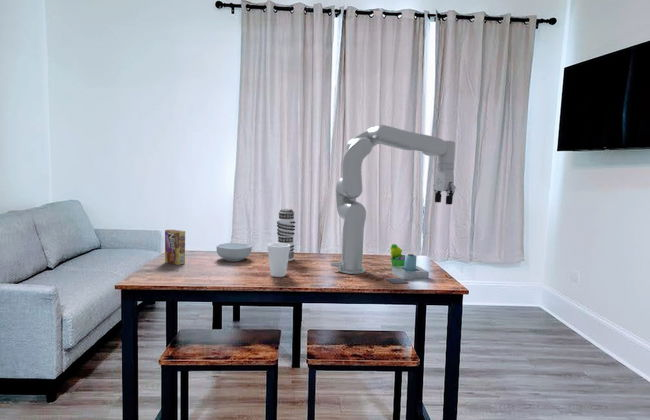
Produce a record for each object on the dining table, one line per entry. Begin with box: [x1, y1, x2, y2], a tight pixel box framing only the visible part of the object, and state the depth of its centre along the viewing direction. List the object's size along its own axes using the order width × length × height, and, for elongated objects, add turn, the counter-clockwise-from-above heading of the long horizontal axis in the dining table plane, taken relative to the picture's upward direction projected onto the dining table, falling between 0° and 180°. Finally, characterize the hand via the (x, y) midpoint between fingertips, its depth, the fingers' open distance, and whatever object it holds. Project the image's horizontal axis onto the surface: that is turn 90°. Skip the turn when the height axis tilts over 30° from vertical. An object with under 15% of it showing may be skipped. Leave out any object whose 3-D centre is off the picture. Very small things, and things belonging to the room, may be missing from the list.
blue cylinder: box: [404, 253, 418, 271], centre depth 193 cm, size 5×5×10 cm
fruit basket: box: [390, 243, 406, 267], centre depth 207 cm, size 11×9×11 cm
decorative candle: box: [276, 208, 296, 262], centre depth 216 cm, size 9×9×25 cm
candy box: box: [164, 228, 186, 266], centre depth 200 cm, size 9×4×15 cm, turn 63°
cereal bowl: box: [216, 242, 252, 262], centre depth 212 cm, size 17×17×7 cm
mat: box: [385, 277, 409, 285], centre depth 183 cm, size 7×7×1 cm
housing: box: [391, 265, 430, 281], centre depth 193 cm, size 12×12×3 cm
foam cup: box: [267, 242, 290, 278], centre depth 186 cm, size 10×9×13 cm
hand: (443, 203), depth 208 cm, fingers open, 9 cm apart
